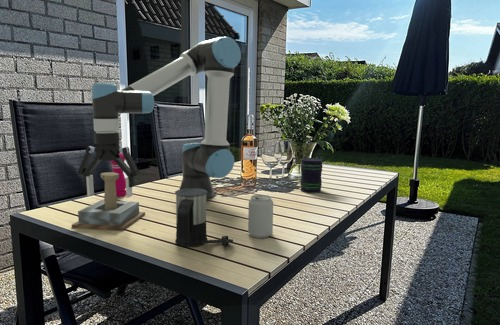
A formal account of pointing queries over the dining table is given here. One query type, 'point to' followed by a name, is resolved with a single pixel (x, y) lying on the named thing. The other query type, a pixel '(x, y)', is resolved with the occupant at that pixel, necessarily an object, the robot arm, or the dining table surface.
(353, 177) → the dining table surface
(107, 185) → the handle
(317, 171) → the storage jar
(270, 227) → the can
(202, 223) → the milk frother
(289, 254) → the dining table surface
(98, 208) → the frame
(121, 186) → the pepper mill
